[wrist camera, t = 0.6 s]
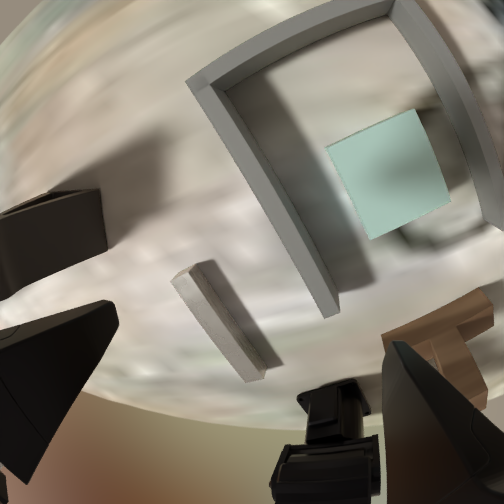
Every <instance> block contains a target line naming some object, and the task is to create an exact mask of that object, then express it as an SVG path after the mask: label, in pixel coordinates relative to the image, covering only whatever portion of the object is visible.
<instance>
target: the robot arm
mask: <svg viewBox="0 0 504 504" xmlns="http://www.w3.org/2000/svg"><path fill="white" fill-rule="evenodd" d="M118 327H119V319H118V315H117V311H116V307H115V304H114V303H113V302H112V301H108V300H100V301H97V302H94V303H90V304H87V305H84V306H80V307H77V308H74V309H70V310H67V311H64V312H60V313H57V314H54V315H50V316H47V317H44V318H40V319H37V320H34V321H30V322H27V323H24V324H21V325H17V326H14V327H10V328H7V329H3V330H0V469H1V468H2V467H3V466H5V467H6V468H7V469H8V470H9V471H10V472H12V473H13V474H14V475H15V476H16V477H17V478H18V479H20V480H21V481H22V482H23V483H25V484H26V485H27V484H28V483H29V481H30V480H31V478H32V475H33V474H34V472H35V469H36V468H37V466H38V464H39V462H40V460H41V458H42V457H43V455H44V453H45V451H46V449H47V447H48V446H49V443H50V442H51V440H52V438H53V436H54V435H55V433H56V431H57V429H58V428H59V426H60V424H61V422H62V421H63V419H64V417H65V416H66V414H67V412H68V411H69V409H70V408H71V406H72V404H73V403H74V401H75V399H76V398H77V396H78V394H79V393H80V391H81V390H82V388H83V387H84V385H85V383H86V382H87V380H88V379H89V377H90V376H91V374H92V373H93V371H94V370H95V368H96V367H97V365H98V363H99V362H100V360H101V359H102V357H103V355H104V353H105V351H106V349H107V347H108V346H109V344H110V342H111V340H112V338H113V336H114V335H115V333H116V331H117V329H118ZM297 402H298V403H299V404H300V405H301V407H302V408H303V409H304V411H305V412H306V413H307V414H308V419H307V428H306V436H305V444H303V445H291V444H287V445H285V446H284V449H283V451H282V452H281V455H280V457H279V460H278V462H277V465H276V467H275V470H274V472H273V475H272V477H271V481H270V482H269V487H270V488H271V490H272V497H273V499H274V501H275V504H371V497H372V496H378V495H380V486H381V475H380V474H381V472H380V454H379V443H378V434H376V435H372V436H370V437H365V438H364V427H363V417H364V416H368V415H370V414H371V408H370V406H369V404H368V402H367V400H366V398H365V396H364V394H363V392H362V390H361V388H360V386H359V384H358V382H357V380H355V379H351V380H348V381H345V382H342V383H338V384H335V385H332V386H328V387H325V388H321V389H318V390H314V391H310V392H307V393H303V394H299V395H298V396H297ZM382 413H383V425H384V436H385V449H386V470H387V504H504V432H502V431H501V430H500V429H499V428H498V427H497V426H495V425H494V424H493V423H492V422H491V421H490V420H489V419H488V418H487V417H486V416H484V414H483V413H481V412H480V411H479V410H478V409H477V408H476V407H475V408H474V405H473V404H472V403H471V402H470V401H469V400H468V399H467V398H466V397H465V396H464V395H463V394H462V393H461V392H460V391H458V390H457V389H456V388H455V387H454V386H453V385H452V384H451V383H450V382H449V381H448V380H447V379H446V378H445V377H444V376H442V375H441V374H440V373H439V372H438V371H437V370H436V369H435V368H434V367H433V366H432V365H431V364H429V363H428V362H427V361H426V360H425V359H424V358H423V357H422V356H421V355H420V354H418V353H417V352H416V351H415V350H414V349H413V348H412V347H411V346H410V345H408V344H407V343H406V342H405V341H403V340H392V341H391V342H390V343H389V346H388V349H387V352H386V354H385V357H384V360H383V363H382ZM7 503H8V494H7V486H6V476H5V475H4V474H3V473H2V472H1V471H0V504H7Z"/></svg>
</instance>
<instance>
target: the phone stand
mask: <svg viewBox="0 0 504 504" xmlns="http://www.w3.org/2000/svg"><path fill="white" fill-rule="evenodd" d="M106 251H108V249H107V243H106V237H105V231H104V224H103V217H102V210H101V202H100V193H99V189H84V190H71V191H58V192H47V193H44V194H41V195H39V196H36V197H34V198H32V199H30V200H27V201H25V202H23V203H21V204H19V205H17V206H14V207H12V208H10V209H8V210H6V211H4V212H2V213H0V301H3V300H5V299H7V298H9V297H11V296H12V295H14V294H15V293H16V292H17V291H19V290H20V289H22V288H23V287H25V286H27V285H29V284H32V283H34V282H36V281H38V280H40V279H43V278H45V277H47V276H49V275H52V274H54V273H56V272H59V271H61V270H63V269H66V268H68V267H70V266H73V265H75V264H77V263H80V262H82V261H84V260H87V259H89V258H92V257H94V256H97V255H99V254H102V253H104V252H106Z"/></svg>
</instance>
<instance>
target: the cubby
mask: <svg viewBox="0 0 504 504" xmlns="http://www.w3.org/2000/svg"><path fill="white" fill-rule="evenodd" d="M386 14H387V15H388V17H389V18H390V19H391V21H392V22H393V23H394V25H395V26H396V27H397V29H398V30H399V31H400V33H401V34H402V36H403V37H404V38H405V40H406V41H407V43H408V44H409V46H410V47H411V49H412V50H413V52H414V53H415V55H416V57H417V58H418V60H419V61H420V63H421V65H422V66H423V68H424V70H425V71H426V73H427V75H428V77H429V78H430V80H431V82H432V84H433V86H434V87H435V89H436V91H437V93H438V95H439V97H440V99H441V101H442V103H443V105H444V107H445V109H446V111H447V113H448V116H449V118H450V120H451V122H452V124H453V127H454V129H455V131H456V134H457V136H458V139H459V141H460V144H461V146H462V149H463V152H464V154H465V157H466V160H467V163H468V166H469V169H470V172H471V175H472V178H473V181H474V184H475V188H476V191H477V195H478V199H479V202H480V206H481V210H482V214H483V219H484V220H485V221H487V222H489V223H490V224H492V225H494V226H495V227H497V228H498V229H500V230H502V231H504V177H503V173H502V170H501V166H500V163H499V159H498V156H497V153H496V150H495V147H494V144H493V141H492V138H491V135H490V132H489V130H488V127H487V125H486V122H485V119H484V117H483V115H482V112H481V110H480V108H479V105H478V103H477V101H476V99H475V96H474V94H473V92H472V90H471V88H470V86H469V84H468V82H467V80H466V78H465V76H464V74H463V72H462V71H461V69H460V67H459V65H458V63H457V62H456V60H455V58H454V56H453V55H452V53H451V51H450V50H449V48H448V47H447V45H446V43H445V42H444V40H443V39H442V37H441V36H440V34H439V33H438V31H437V30H436V28H435V27H434V25H433V24H432V23H431V21H430V20H429V18H428V17H427V16H426V14H425V13H424V12H423V10H422V9H421V8H420V7H419V5H418V4H417V3H416V2H415V0H332V1H330V2H327V3H324V4H322V5H319V6H317V7H314V8H312V9H310V10H307V11H305V12H303V13H300V14H298V15H296V16H294V17H292V18H289V19H287V20H285V21H283V22H281V23H279V24H277V25H275V26H273V27H271V28H269V29H267V30H265V31H263V32H262V33H260V34H258V35H256V36H254V37H252V38H251V39H249V40H247V41H245V42H244V43H242V44H240V45H239V46H237V47H235V48H234V49H232V50H230V51H229V52H227V53H226V54H224V55H222V56H221V57H219V58H218V59H216V60H215V61H213V62H212V63H210V64H209V65H207V66H206V67H204V68H203V69H201V70H200V71H198V72H197V73H196V74H194V75H193V76H191V77H190V78H189V79H187V80H186V81H185V82H186V84H187V86H188V87H189V89H190V90H191V92H192V93H193V95H194V96H195V98H196V100H197V101H198V103H199V104H200V106H201V107H202V109H203V111H204V112H205V114H206V115H207V117H208V119H209V120H210V122H211V123H212V125H213V127H214V128H215V130H216V131H217V133H218V135H219V136H220V138H221V140H222V141H223V143H224V144H225V146H226V148H227V149H228V151H229V153H230V154H231V156H232V158H233V159H234V161H235V163H236V164H237V166H238V168H239V169H240V171H241V173H242V174H243V176H244V178H245V179H246V181H247V183H248V184H249V186H250V188H251V189H252V191H253V193H254V194H255V196H256V198H257V200H258V201H259V203H260V205H261V206H262V208H263V210H264V212H265V213H266V215H267V217H268V218H269V220H270V222H271V224H272V225H273V227H274V229H275V231H276V232H277V234H278V236H279V238H280V239H281V241H282V243H283V245H284V246H285V248H286V250H287V252H288V253H289V255H290V257H291V259H292V261H293V262H294V264H295V266H296V268H297V270H298V271H299V273H300V275H301V277H302V279H303V280H304V282H305V284H306V286H307V288H308V290H309V291H310V293H311V295H312V297H313V299H314V301H315V302H316V304H317V306H318V308H319V310H320V312H321V313H322V315H323V317H324V319H325V318H328V317H330V316H333V315H335V314H338V313H340V306H339V295H338V290H337V288H336V286H335V284H334V282H333V280H332V278H331V276H330V274H329V272H328V270H327V268H326V266H325V264H324V262H323V260H322V258H321V256H320V254H319V252H318V250H317V249H316V247H315V245H314V243H313V241H312V239H311V237H310V235H309V233H308V231H307V230H306V228H305V226H304V224H303V222H302V220H301V219H300V217H299V215H298V213H297V211H296V209H295V208H294V206H293V204H292V202H291V200H290V199H289V197H288V195H287V193H286V192H285V190H284V188H283V186H282V185H281V183H280V181H279V179H278V178H277V176H276V174H275V172H274V171H273V169H272V167H271V166H270V164H269V162H268V160H267V159H266V157H265V155H264V154H263V152H262V150H261V149H260V147H259V145H258V144H257V142H256V141H255V139H254V137H253V136H252V134H251V132H250V131H249V129H248V128H247V126H246V124H245V123H244V121H243V120H242V118H241V116H240V115H239V113H238V112H237V110H236V109H235V107H234V105H233V104H232V102H231V101H230V99H229V98H228V96H227V95H226V93H225V91H226V90H228V89H229V88H231V87H232V86H234V85H236V84H237V83H239V82H240V81H242V80H244V79H245V78H247V77H249V76H250V75H252V74H254V73H256V72H257V71H259V70H261V69H263V68H264V67H266V66H268V65H270V64H272V63H273V62H275V61H277V60H279V59H281V58H283V57H285V56H287V55H289V54H291V53H293V52H295V51H297V50H299V49H301V48H303V47H305V46H307V45H309V44H311V43H313V42H315V41H318V40H320V39H322V38H324V37H327V36H329V35H331V34H334V33H336V32H339V31H341V30H344V29H346V28H349V27H351V26H354V25H357V24H359V23H362V22H365V21H368V20H371V19H374V18H377V17H380V16H383V15H386Z"/></svg>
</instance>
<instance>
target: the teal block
mask: <svg viewBox="0 0 504 504" xmlns="http://www.w3.org/2000/svg"><path fill="white" fill-rule="evenodd" d="M325 150H326V152H327V153H328V155H329V157H330V159H331V161H332V163H333V165H334V167H335V169H336V171H337V173H338V175H339V177H340V179H341V181H342V183H343V185H344V187H345V189H346V191H347V193H348V195H349V197H350V199H351V201H352V204H353V206H354V208H355V210H356V212H357V214H358V217H359V219H360V221H361V223H362V226H363V228H364V229H365V231H366V233H367V235H368V237H369V239H370V240H372V239H374V238H376V237H378V236H381V235H383V234H385V233H387V232H389V231H391V230H393V229H396V228H398V227H400V226H402V225H404V224H406V223H408V222H410V221H412V220H414V219H417V218H419V217H421V216H423V215H425V214H427V213H429V212H431V211H433V210H435V209H437V208H439V207H441V206H443V205H445V204H447V203H449V202H451V199H450V196H449V192H448V189H447V186H446V183H445V180H444V177H443V175H442V172H441V169H440V166H439V164H438V161H437V159H436V156H435V153H434V151H433V149H432V146H431V144H430V141H429V139H428V137H427V134H426V132H425V130H424V128H423V126H422V124H421V121H420V119H419V117H418V115H417V113H416V111H415V109H411V110H408V111H405V112H402V113H399V114H396V115H394V116H392V117H389V118H387V119H385V120H382V121H380V122H378V123H376V124H374V125H371V126H369V127H367V128H365V129H363V130H360V131H358V132H356V133H354V134H352V135H350V136H348V137H345V138H343V139H341V140H339V141H337V142H335V143H333V144H331V145H329V146H327V147H325Z"/></svg>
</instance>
